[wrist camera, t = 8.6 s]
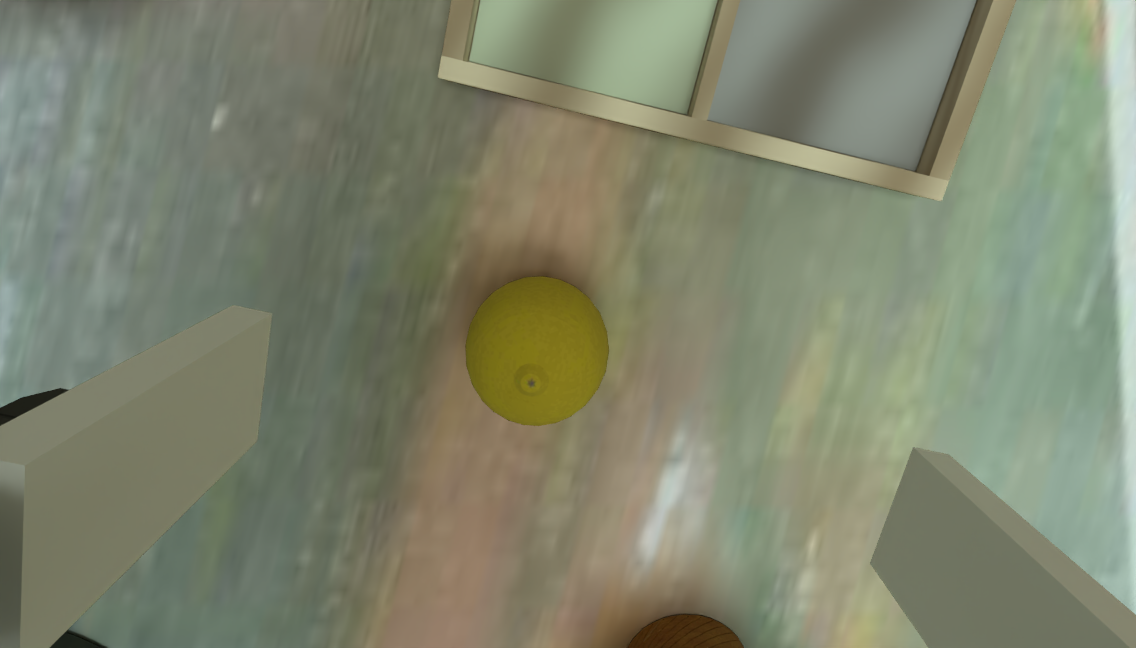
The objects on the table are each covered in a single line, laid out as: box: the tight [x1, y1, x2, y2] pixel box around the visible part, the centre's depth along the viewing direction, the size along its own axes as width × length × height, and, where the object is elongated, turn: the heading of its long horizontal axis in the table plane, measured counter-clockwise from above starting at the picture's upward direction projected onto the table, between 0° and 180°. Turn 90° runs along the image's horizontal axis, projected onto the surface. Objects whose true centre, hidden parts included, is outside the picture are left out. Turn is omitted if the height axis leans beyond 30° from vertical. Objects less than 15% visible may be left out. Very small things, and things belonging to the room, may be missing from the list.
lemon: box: [466, 276, 609, 426], centre depth 28 cm, size 6×6×8 cm
